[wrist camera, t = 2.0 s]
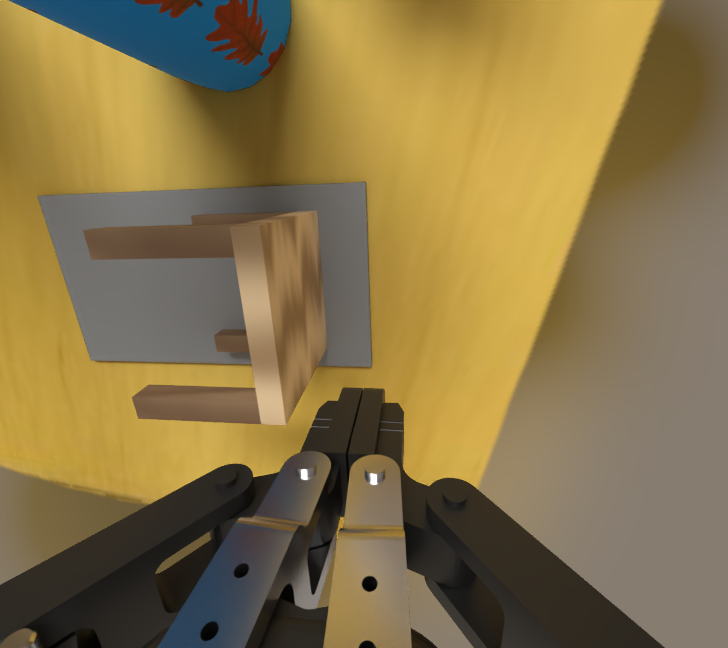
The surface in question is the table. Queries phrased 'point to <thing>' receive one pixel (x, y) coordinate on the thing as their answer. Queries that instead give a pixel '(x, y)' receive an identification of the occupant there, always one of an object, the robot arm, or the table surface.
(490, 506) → the robot arm
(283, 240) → the stool
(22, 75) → the table surface
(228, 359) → the mat
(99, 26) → the thermos
